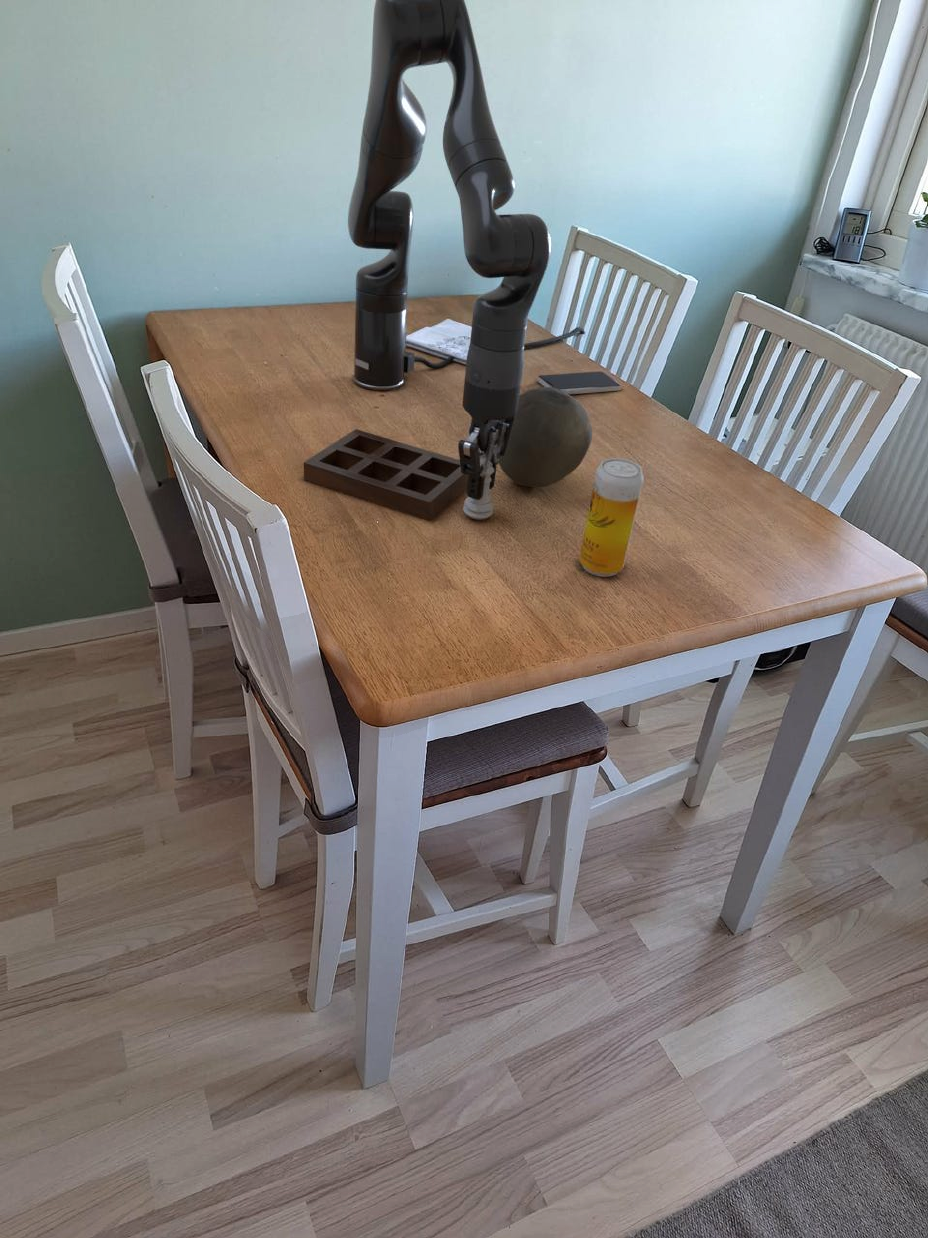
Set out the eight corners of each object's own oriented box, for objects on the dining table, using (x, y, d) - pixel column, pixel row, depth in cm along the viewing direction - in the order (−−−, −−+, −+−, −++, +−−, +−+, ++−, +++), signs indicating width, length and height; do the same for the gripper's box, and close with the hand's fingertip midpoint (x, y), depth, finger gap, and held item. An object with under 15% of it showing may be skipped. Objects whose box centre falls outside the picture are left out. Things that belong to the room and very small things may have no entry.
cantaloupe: (519, 510, 133) (533, 415, 124) (475, 469, 143) (485, 378, 134) (597, 496, 139) (615, 405, 130) (550, 458, 149) (564, 370, 140)
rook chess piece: (490, 522, 128) (496, 472, 123) (459, 517, 129) (464, 466, 124) (495, 508, 132) (501, 459, 127) (466, 503, 132) (471, 453, 128)
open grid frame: (355, 445, 146) (355, 428, 144) (473, 481, 139) (475, 464, 137) (303, 480, 135) (303, 461, 133) (428, 520, 128) (430, 502, 126)
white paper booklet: (395, 345, 187) (396, 334, 185) (448, 323, 201) (448, 314, 200) (473, 369, 179) (474, 358, 178) (521, 345, 194) (522, 335, 192)
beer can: (574, 554, 124) (593, 455, 115) (617, 555, 125) (639, 457, 116) (582, 578, 119) (603, 476, 110) (627, 579, 120) (650, 479, 111)
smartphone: (622, 385, 176) (556, 390, 170) (621, 391, 177) (555, 396, 171) (601, 370, 182) (537, 375, 176) (600, 376, 183) (536, 380, 177)
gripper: (497, 399, 112) (483, 520, 122) (539, 368, 122) (523, 480, 132) (444, 385, 114) (434, 504, 124) (489, 355, 125) (477, 467, 135)
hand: (480, 491), depth 128 cm, fingers closed on rook chess piece, 3 cm apart
